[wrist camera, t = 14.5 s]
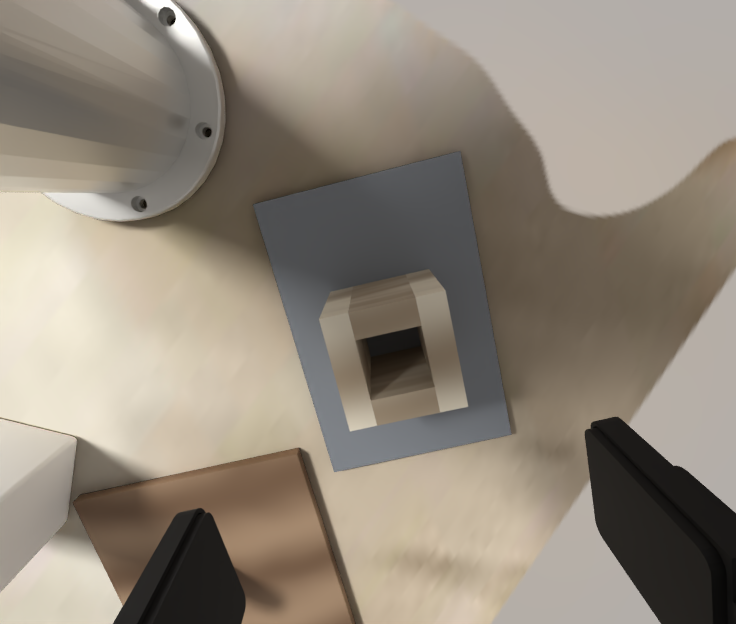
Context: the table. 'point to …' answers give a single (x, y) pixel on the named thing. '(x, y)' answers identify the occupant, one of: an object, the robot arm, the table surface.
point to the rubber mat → (377, 262)
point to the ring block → (396, 369)
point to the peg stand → (231, 534)
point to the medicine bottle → (31, 491)
